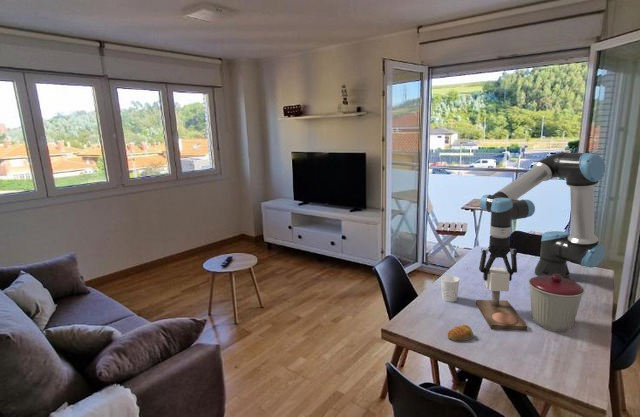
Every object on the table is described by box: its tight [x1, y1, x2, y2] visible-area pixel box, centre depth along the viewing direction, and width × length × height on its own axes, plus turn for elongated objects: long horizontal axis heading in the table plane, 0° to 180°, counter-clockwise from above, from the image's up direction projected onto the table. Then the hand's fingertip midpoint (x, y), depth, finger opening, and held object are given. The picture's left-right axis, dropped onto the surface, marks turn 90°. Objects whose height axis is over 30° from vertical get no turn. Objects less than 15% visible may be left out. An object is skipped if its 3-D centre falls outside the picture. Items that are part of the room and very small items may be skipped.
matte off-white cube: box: [488, 266, 510, 292], centre depth 151 cm, size 7×7×8 cm
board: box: [475, 291, 528, 332], centre depth 147 cm, size 13×21×10 cm, turn 172°
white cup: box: [440, 274, 460, 303], centre depth 164 cm, size 8×8×10 cm
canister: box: [528, 274, 586, 332], centre depth 139 cm, size 18×18×21 cm
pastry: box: [447, 324, 475, 342], centre depth 135 cm, size 9×7×4 cm
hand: (496, 287), depth 152 cm, fingers closed on matte off-white cube, 7 cm apart
